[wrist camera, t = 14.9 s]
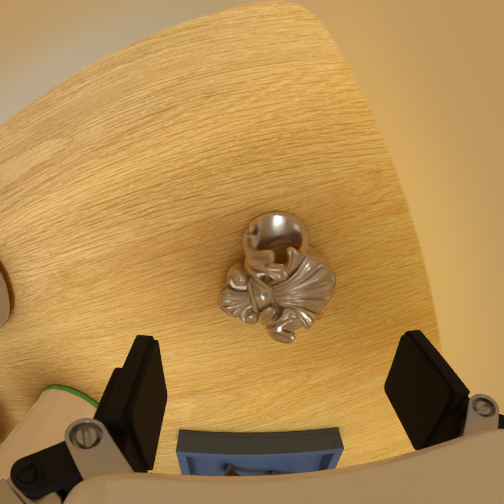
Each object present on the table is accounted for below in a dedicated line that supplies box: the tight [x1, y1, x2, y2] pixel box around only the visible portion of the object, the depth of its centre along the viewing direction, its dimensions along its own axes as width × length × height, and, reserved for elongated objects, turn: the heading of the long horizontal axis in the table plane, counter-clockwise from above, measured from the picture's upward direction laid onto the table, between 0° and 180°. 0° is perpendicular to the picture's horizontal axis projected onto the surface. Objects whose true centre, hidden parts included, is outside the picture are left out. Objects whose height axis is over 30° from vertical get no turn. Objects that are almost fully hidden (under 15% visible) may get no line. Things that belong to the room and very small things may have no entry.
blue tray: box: [176, 428, 344, 476], centre depth 26 cm, size 15×13×3 cm
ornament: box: [217, 212, 335, 344], centre depth 18 cm, size 8×7×4 cm
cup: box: [0, 385, 99, 480], centre depth 17 cm, size 12×12×15 cm
